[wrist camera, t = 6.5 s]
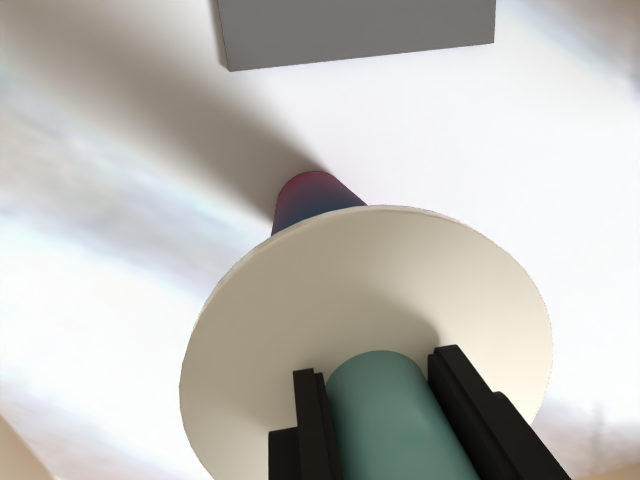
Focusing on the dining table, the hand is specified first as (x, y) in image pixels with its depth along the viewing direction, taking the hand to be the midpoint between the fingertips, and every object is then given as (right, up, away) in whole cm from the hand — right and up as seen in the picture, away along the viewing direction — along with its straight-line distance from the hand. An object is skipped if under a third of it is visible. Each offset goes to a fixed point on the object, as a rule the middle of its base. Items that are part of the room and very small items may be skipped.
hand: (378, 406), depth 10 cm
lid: (0, 0, +1) cm, 1 cm away
